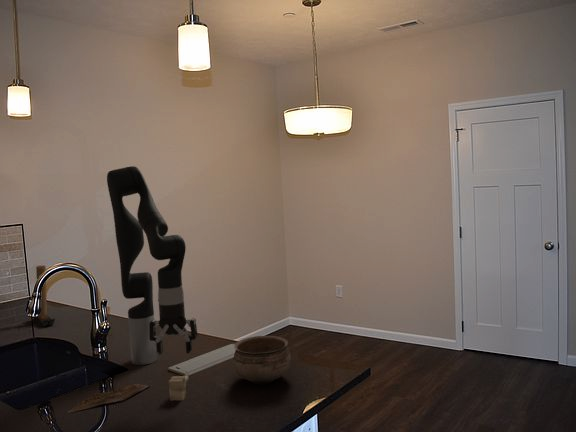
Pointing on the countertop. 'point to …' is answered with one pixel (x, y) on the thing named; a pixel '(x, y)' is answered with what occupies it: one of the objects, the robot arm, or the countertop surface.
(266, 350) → the cooking pot
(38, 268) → the hammer
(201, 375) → the countertop surface
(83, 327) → the countertop surface
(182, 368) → the baseboard molding
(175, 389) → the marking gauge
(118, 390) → the wooden fragment
